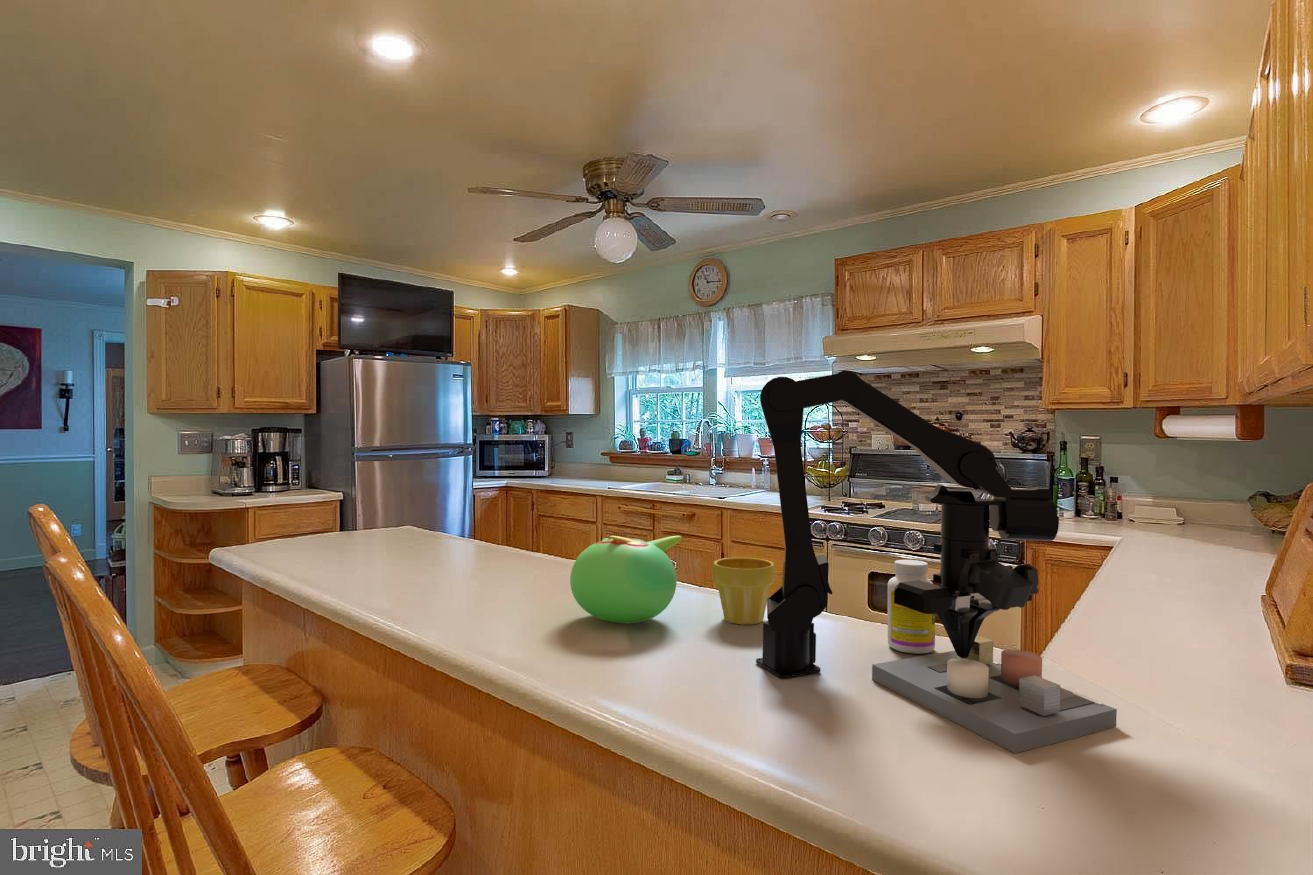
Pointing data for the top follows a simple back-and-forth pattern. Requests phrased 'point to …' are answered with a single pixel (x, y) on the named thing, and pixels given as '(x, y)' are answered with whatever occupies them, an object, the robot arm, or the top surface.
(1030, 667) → the button rust
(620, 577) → the toy bird
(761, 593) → the plant pot
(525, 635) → the top surface
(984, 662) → the brushed gold cube
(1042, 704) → the lever grey
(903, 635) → the supplement bottle
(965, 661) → the button ivory
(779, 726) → the top surface
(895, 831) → the top surface
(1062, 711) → the panel
